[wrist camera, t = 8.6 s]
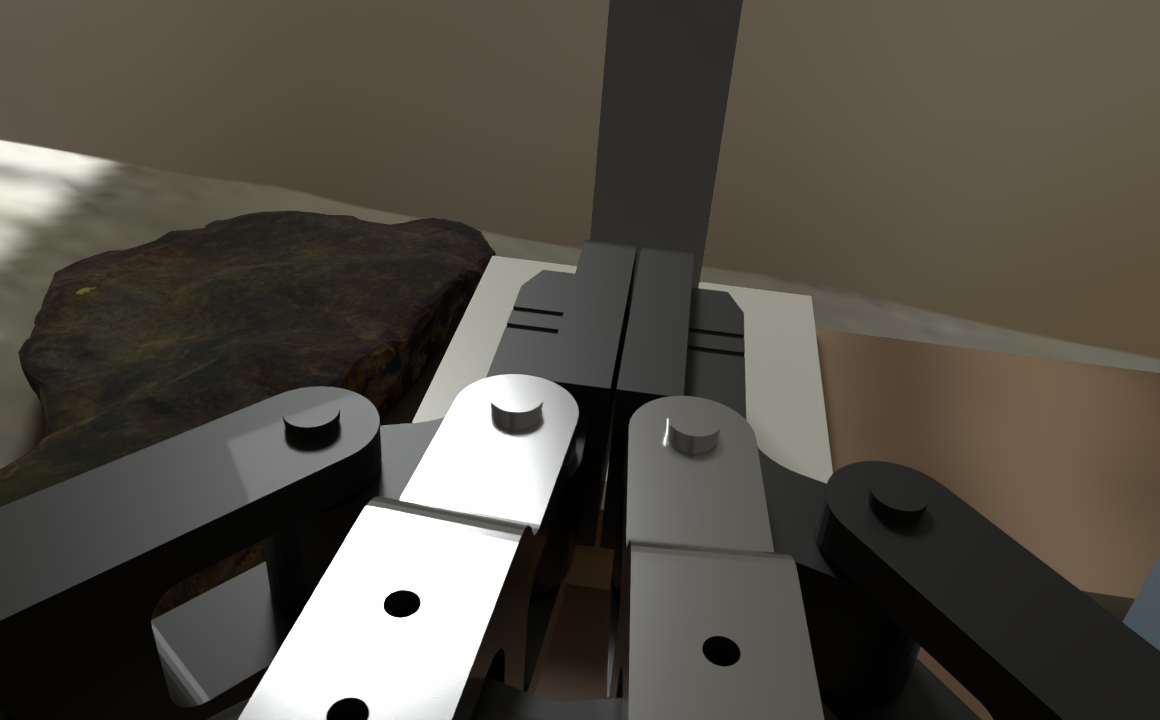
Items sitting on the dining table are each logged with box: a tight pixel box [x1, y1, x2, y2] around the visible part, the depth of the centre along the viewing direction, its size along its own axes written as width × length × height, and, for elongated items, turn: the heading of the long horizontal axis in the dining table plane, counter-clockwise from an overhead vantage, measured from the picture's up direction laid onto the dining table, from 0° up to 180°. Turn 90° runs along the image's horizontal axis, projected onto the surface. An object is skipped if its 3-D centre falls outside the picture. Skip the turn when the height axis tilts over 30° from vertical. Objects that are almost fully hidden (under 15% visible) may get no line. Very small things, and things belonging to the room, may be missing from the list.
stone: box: [0, 211, 495, 620], centre depth 26 cm, size 18×11×3 cm, turn 162°
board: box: [534, 329, 1160, 720], centre depth 18 cm, size 21×23×2 cm
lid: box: [412, 0, 833, 510], centre depth 21 cm, size 9×9×10 cm
